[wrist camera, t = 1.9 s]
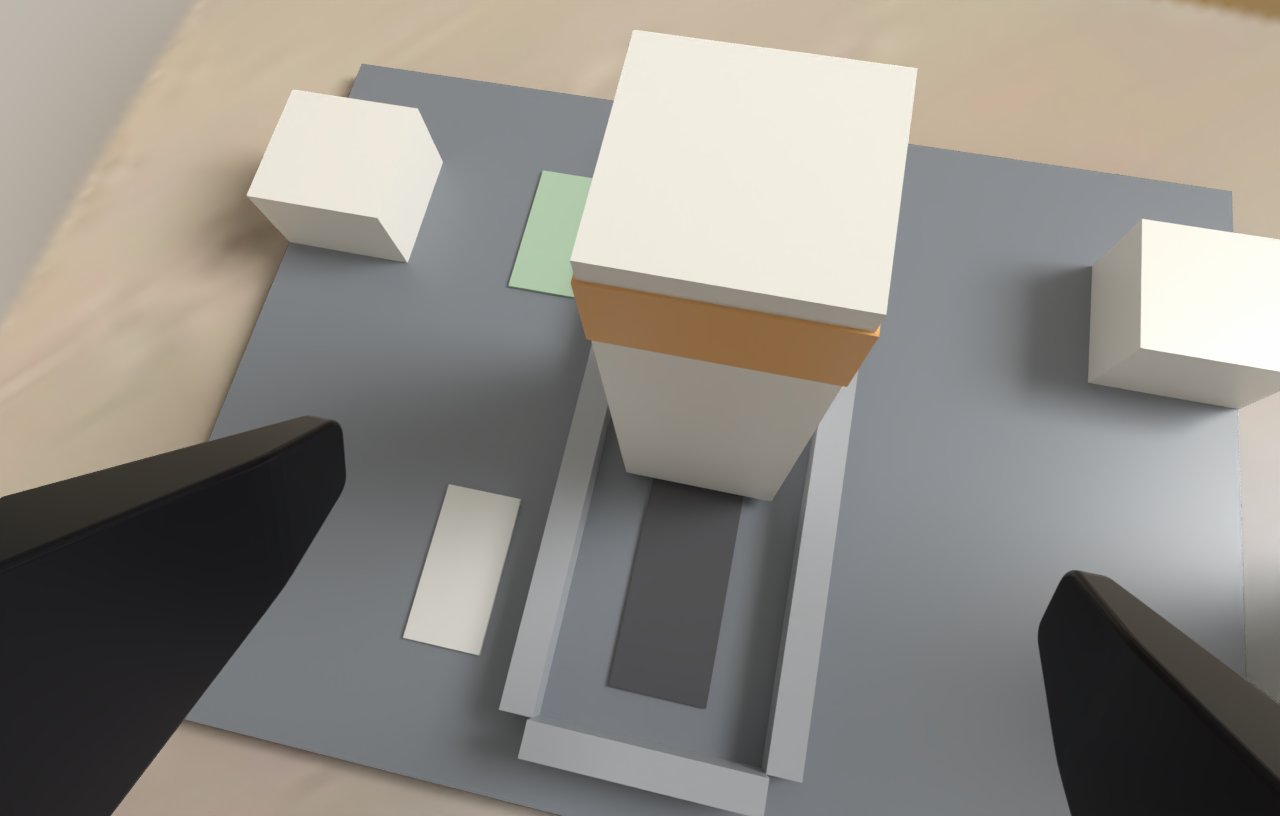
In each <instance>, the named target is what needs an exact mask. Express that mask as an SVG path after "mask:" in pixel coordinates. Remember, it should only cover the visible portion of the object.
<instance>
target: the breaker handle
mask: <svg viewBox="0 0 1280 816" xmlns="http://www.w3.org/2000/svg"><path fill="white" fill-rule="evenodd" d="M917 69H918V68H912V67H904V66H897V65H890V64H882V63H875V62H867V61H860V60H853V59H845V58H838V57H831V56H823V55H816V54H808V53H801V52H794V51H786V50H779V49H772V48H764V47H757V46H750V45H742V44H735V43H727V42H720V41H713V40H705V39H698V38H691V37H683V36H676V35H668V34H661V33H654V32H646V31H639V30H633V33H632V37H631V40H630V44H629V48H628V51H627V55H626V59H625V62H624V66H623V69H622V73H621V77H620V80H619V84H618V88H617V91H616V95H615V99H614V102H613V106H612V109H611V113H610V117H609V120H608V124H607V128H606V131H605V135H604V139H603V142H602V146H601V149H600V153H599V157H598V160H597V164H596V168H595V171H594V175H593V179H592V182H591V186H590V189H589V193H588V197H587V200H586V204H585V208H584V211H583V215H582V219H581V222H580V226H579V229H578V233H577V237H576V240H575V244H574V248H573V251H572V255H571V259H570V263H571V266H572V270H573V275H572V279H571V287H572V290H573V294H574V297H575V301H576V304H577V308H578V312H579V315H580V319H581V322H582V326H583V329H584V333H585V336H586V340H591V341H592V345H593V349H594V353H595V356H596V360H597V364H598V368H599V372H600V375H601V379H602V383H603V387H604V390H605V394H606V398H607V402H608V405H609V409H610V413H611V417H612V420H613V424H614V428H615V432H616V435H617V439H618V443H619V447H620V450H621V454H622V458H623V462H624V465H625V469H626V472H627V473H632V474H637V475H642V476H647V477H652V478H657V479H662V480H667V481H672V482H677V483H682V484H687V485H692V486H697V487H702V488H707V489H712V490H716V491H721V492H726V493H731V494H736V495H741V496H746V497H751V498H756V499H761V500H766V501H771V502H772V500H773V498H774V497H775V495H776V493H777V492H778V490H779V488H780V487H781V485H782V484H783V482H784V480H785V479H786V477H787V475H788V474H789V472H790V471H791V469H792V467H793V466H794V464H795V462H796V461H797V459H798V458H799V456H800V454H801V453H802V451H803V449H804V448H805V446H806V445H807V443H808V441H809V440H810V438H811V436H812V435H813V433H814V432H815V430H816V428H817V427H818V425H819V423H820V422H821V420H822V419H823V417H824V415H825V414H826V412H827V410H828V409H829V407H830V406H831V404H832V402H833V401H834V399H835V397H836V396H837V394H838V393H839V391H840V389H841V388H842V386H843V387H848V385H849V383H850V382H851V380H852V379H853V377H854V376H855V374H856V372H857V371H858V369H859V368H860V366H861V365H862V363H863V361H864V360H865V358H866V357H867V355H868V354H869V352H870V350H871V349H872V347H873V346H874V344H875V343H876V341H877V339H878V338H879V334H880V326H881V323H882V321H883V319H884V318H885V316H886V313H887V305H888V297H889V289H890V282H891V274H892V266H893V258H894V250H895V242H896V234H897V226H898V219H899V211H900V203H901V195H902V187H903V179H904V171H905V163H906V155H907V148H908V140H909V132H910V124H911V116H912V108H913V100H914V92H915V84H916V77H917Z"/></svg>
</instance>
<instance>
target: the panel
mask: <svg viewBox="0 0 1280 816" xmlns="http://www.w3.org/2000/svg"><path fill="white" fill-rule="evenodd" d="M613 102H614V101H612V100H606V99H599V98H592V97H585V96H578V95H571V94H565V93H558V92H551V91H544V90H537V89H531V88H524V87H517V86H510V85H503V84H496V83H490V82H483V81H476V80H469V79H462V78H456V77H449V76H442V75H435V74H428V73H421V72H415V71H408V70H401V69H394V68H387V67H381V66H374V65H367V64H362V65H361V67H360V70H359V72H358V75H357V77H356V79H355V82H354V84H353V87H352V89H351V92H350V94H349V97H348V98H346V97H339V96H332V95H326V94H319V93H313V92H306V91H300V90H292V92H291V94H290V97H289V99H288V101H287V103H286V106H285V108H284V110H283V113H282V115H281V117H280V120H279V122H278V124H277V126H276V129H275V131H274V133H273V136H272V138H271V140H270V142H269V145H268V147H267V149H266V152H265V154H264V156H263V158H262V161H261V163H260V165H259V168H258V170H257V172H256V175H255V177H254V179H253V181H252V184H251V186H250V188H249V191H248V193H247V195H246V196H247V197H248V198H249V199H250V200H251V201H252V202H253V203H254V205H255V206H256V207H257V208H258V209H259V210H260V211H261V212H262V213H263V214H264V215H265V216H266V217H267V219H268V220H269V221H270V222H271V223H272V224H273V225H274V226H275V227H276V228H277V229H278V230H279V231H280V233H281V234H282V235H283V236H284V237H285V238H286V239H287V240H288V241H289V244H288V247H287V249H286V251H285V254H284V256H283V259H282V261H281V264H280V266H279V269H278V271H277V274H276V276H275V278H274V281H273V283H272V286H271V288H270V291H269V293H268V296H267V298H266V301H265V303H264V305H263V308H262V310H261V313H260V315H259V318H258V320H257V323H256V325H255V328H254V330H253V333H252V335H251V337H250V340H249V342H248V345H247V347H246V350H245V352H244V355H243V357H242V360H241V362H240V364H239V367H238V369H237V372H236V374H235V377H234V379H233V382H232V384H231V387H230V389H229V391H228V394H227V396H226V399H225V401H224V404H223V406H222V409H221V411H220V414H219V416H218V418H217V421H216V423H215V426H214V428H213V431H212V433H211V436H210V438H209V441H212V440H215V439H219V438H223V437H226V436H230V435H234V434H238V433H241V432H245V431H249V430H252V429H256V428H260V427H264V426H267V425H271V424H275V423H278V422H282V421H286V420H290V419H293V418H297V417H301V416H305V415H313V416H318V417H323V418H328V419H332V420H336V421H337V422H338V423H339V424H340V425H341V427H342V430H343V438H344V451H345V464H346V482H345V486H344V489H343V491H342V493H341V495H340V497H339V499H338V500H337V502H336V504H335V505H334V507H333V509H332V510H331V512H330V514H329V515H328V517H327V519H326V520H325V522H324V524H323V525H322V527H321V529H320V530H319V532H318V534H317V535H316V537H315V539H314V540H313V542H312V544H311V545H310V547H309V549H308V550H307V552H306V554H305V555H304V557H303V559H302V560H301V562H300V564H299V565H298V567H297V568H296V570H295V572H294V573H293V575H292V576H291V578H290V579H289V581H288V582H287V584H286V586H285V587H284V588H283V590H282V591H281V592H280V594H279V595H278V597H277V598H276V599H275V601H274V602H273V603H272V605H271V606H270V607H269V609H268V610H267V611H266V613H265V614H264V615H263V617H262V618H261V619H260V620H259V622H258V623H257V624H256V626H255V627H254V628H253V630H252V631H251V632H250V634H249V635H248V636H247V638H246V639H245V640H244V641H243V643H242V644H241V645H240V647H239V648H238V649H237V651H236V652H235V653H234V655H233V656H232V657H231V659H230V660H229V661H228V662H227V664H226V665H225V666H224V668H223V669H222V670H221V672H220V673H219V674H218V676H217V677H216V678H215V680H214V681H213V682H212V683H211V685H210V686H209V687H208V689H207V690H206V691H205V693H204V694H203V695H202V697H201V698H200V699H199V701H198V702H197V703H196V705H195V706H194V707H193V708H192V710H191V711H190V712H189V714H188V715H187V716H186V718H185V720H189V721H193V722H197V723H200V724H204V725H208V726H212V727H216V728H220V729H224V730H228V731H232V732H236V733H240V734H244V735H248V736H251V737H255V738H259V739H263V740H267V741H271V742H275V743H279V744H283V745H287V746H291V747H295V748H298V749H302V750H306V751H310V752H314V753H318V754H322V755H326V756H330V757H334V758H338V759H342V760H346V761H349V762H353V763H357V764H361V765H365V766H369V767H373V768H377V769H381V770H385V771H389V772H393V773H396V774H400V775H404V776H408V777H412V778H416V779H420V780H424V781H428V782H432V783H436V784H440V785H443V786H447V787H451V788H455V789H459V790H463V791H467V792H471V793H475V794H479V795H483V796H487V797H491V798H494V799H498V800H502V801H506V802H510V803H514V804H518V805H522V806H526V807H530V808H534V809H538V810H541V811H545V812H549V813H553V814H557V815H561V816H1071V814H1070V810H1069V806H1068V803H1067V799H1066V796H1065V792H1064V788H1063V785H1062V781H1061V777H1060V773H1059V769H1058V765H1057V760H1056V755H1055V749H1054V744H1053V738H1052V732H1051V725H1050V719H1049V712H1048V706H1047V699H1046V693H1045V686H1044V680H1043V673H1042V667H1041V661H1040V654H1039V648H1038V628H1039V624H1040V621H1041V619H1042V617H1043V615H1044V613H1045V610H1046V608H1047V606H1048V604H1049V602H1050V600H1051V598H1052V596H1053V594H1054V592H1055V590H1056V588H1057V586H1058V584H1059V582H1060V580H1061V578H1062V577H1063V576H1064V575H1065V574H1066V573H1067V572H1069V571H1071V570H1079V571H1084V572H1089V573H1094V574H1099V575H1104V576H1107V577H1109V578H1111V579H1112V580H1114V581H1115V582H1116V583H1118V584H1119V585H1120V586H1122V587H1123V588H1124V589H1126V590H1127V591H1128V592H1130V593H1131V594H1133V595H1134V596H1135V597H1137V598H1138V599H1139V600H1141V601H1142V602H1143V603H1145V604H1146V605H1147V606H1149V607H1150V608H1151V609H1153V610H1154V611H1155V612H1157V613H1158V614H1159V615H1161V616H1162V617H1163V618H1165V619H1166V620H1167V621H1169V622H1170V623H1171V624H1173V625H1174V626H1176V627H1177V628H1178V629H1180V630H1181V631H1182V632H1184V633H1185V634H1186V635H1188V636H1189V637H1190V638H1192V639H1193V640H1194V641H1196V642H1197V643H1198V644H1200V645H1201V646H1202V647H1204V648H1205V649H1206V650H1208V651H1209V652H1210V653H1212V654H1213V655H1214V656H1216V657H1217V658H1219V659H1220V660H1221V661H1223V662H1224V663H1225V664H1227V665H1228V666H1229V667H1231V668H1232V669H1233V670H1235V671H1236V672H1237V673H1239V674H1240V675H1241V676H1243V677H1244V678H1245V679H1246V655H1245V621H1244V587H1243V553H1242V519H1241V485H1240V451H1239V417H1238V409H1240V408H1242V407H1244V406H1247V405H1249V404H1251V403H1254V402H1256V401H1258V400H1260V399H1263V398H1265V397H1267V396H1269V395H1272V394H1274V393H1276V392H1278V391H1280V240H1278V239H1272V238H1265V237H1258V236H1252V235H1245V234H1239V233H1233V213H1232V191H1226V190H1219V189H1212V188H1206V187H1199V186H1192V185H1185V184H1178V183H1171V182H1165V181H1158V180H1151V179H1144V178H1137V177H1131V176H1124V175H1117V174H1110V173H1103V172H1096V171H1090V170H1083V169H1076V168H1069V167H1062V166H1056V165H1049V164H1042V163H1035V162H1028V161H1021V160H1015V159H1008V158H1001V157H994V156H987V155H981V154H974V153H967V152H960V151H953V150H946V149H940V148H933V147H926V146H919V145H912V144H908V148H907V155H906V163H905V171H904V179H903V187H902V195H901V203H900V211H899V219H898V226H897V234H896V242H895V250H894V258H893V266H892V274H891V282H890V289H889V297H888V305H887V313H886V316H885V318H884V319H883V321H882V323H881V326H880V334H879V338H878V339H877V341H876V343H875V344H874V346H873V347H872V349H871V350H870V352H869V354H868V355H867V357H866V358H865V360H864V361H863V363H862V365H861V366H860V368H859V369H858V371H857V372H856V374H855V376H854V377H853V379H852V380H851V382H850V383H849V385H848V387H843V386H842V388H841V389H840V391H839V393H838V394H837V396H836V397H835V399H834V401H833V402H832V404H831V406H830V407H829V409H828V410H827V412H826V414H825V415H824V417H823V419H822V420H821V422H820V423H819V425H818V427H817V428H816V430H815V432H814V433H813V435H812V436H811V438H810V440H809V441H808V443H807V445H806V446H805V448H804V449H803V451H802V453H801V454H800V456H799V458H798V459H797V461H796V462H795V464H794V466H793V467H792V469H791V471H790V472H789V474H788V475H787V477H786V479H785V480H784V482H783V484H782V485H781V487H780V488H779V490H778V492H777V493H776V495H775V497H774V498H773V500H772V502H771V501H766V500H761V499H756V498H751V497H746V496H741V495H736V494H731V493H726V492H721V491H716V490H712V489H707V488H702V487H697V486H692V485H687V484H682V483H677V482H672V481H667V480H662V479H657V478H652V477H647V476H642V475H637V474H632V473H627V472H626V469H625V465H624V462H623V458H622V454H621V450H620V447H619V443H618V439H617V435H616V432H615V428H614V424H613V420H612V417H611V413H610V409H609V405H608V402H607V398H606V394H605V390H604V387H603V383H602V379H601V375H600V372H599V368H598V364H597V360H596V356H595V353H594V349H593V345H592V341H591V340H586V336H585V333H584V329H583V326H582V322H581V319H580V315H579V312H578V308H577V304H576V301H575V297H574V294H573V290H572V287H571V279H572V275H573V270H572V266H571V263H570V259H571V255H572V251H573V248H574V244H575V240H576V237H577V233H578V229H579V226H580V222H581V219H582V215H583V211H584V208H585V204H586V200H587V197H588V193H589V189H590V186H591V182H592V179H593V175H594V171H595V168H596V164H597V160H598V157H599V153H600V149H601V146H602V142H603V139H604V135H605V131H606V128H607V124H608V120H609V117H610V113H611V109H612V106H613Z"/></svg>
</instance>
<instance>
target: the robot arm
mask: <svg viewBox="0 0 1280 816" xmlns="http://www.w3.org/2000/svg"><path fill="white" fill-rule="evenodd" d="M345 482H346V464H345V451H344V438H343V430H342V427H341V425H340V424H339V423H338V422H337V421H336V420H332V419H328V418H323V417H318V416H313V415H305V416H301V417H297V418H293V419H290V420H286V421H282V422H278V423H275V424H271V425H267V426H264V427H260V428H256V429H252V430H249V431H245V432H241V433H238V434H234V435H230V436H226V437H223V438H219V439H215V440H212V441H208V442H204V443H200V444H197V445H193V446H189V447H186V448H182V449H178V450H175V451H171V452H167V453H163V454H160V455H156V456H152V457H149V458H145V459H141V460H137V461H134V462H130V463H126V464H123V465H119V466H115V467H111V468H108V469H104V470H100V471H97V472H93V473H89V474H85V475H82V476H78V477H74V478H71V479H67V480H63V481H59V482H56V483H52V484H48V485H45V486H41V487H37V488H34V489H30V490H26V491H22V492H19V493H15V494H11V495H8V496H4V497H2V498H0V816H111V815H112V813H113V812H114V811H115V810H116V808H117V807H118V806H119V804H120V803H121V802H122V800H123V799H124V798H125V796H126V795H127V794H128V792H129V791H130V790H131V789H132V787H133V786H134V785H135V783H136V782H137V781H138V779H139V778H140V777H141V775H142V774H143V773H144V771H145V770H146V769H147V768H148V766H149V765H150V764H151V762H152V761H153V760H154V758H155V757H156V756H157V754H158V753H159V752H160V750H161V749H162V748H163V747H164V745H165V744H166V743H167V741H168V740H169V739H170V737H171V736H172V735H173V733H174V732H175V731H176V729H177V728H178V727H179V726H180V724H181V723H182V722H183V720H184V719H185V718H186V716H187V715H188V714H189V712H190V711H191V710H192V708H193V707H194V706H195V705H196V703H197V702H198V701H199V699H200V698H201V697H202V695H203V694H204V693H205V691H206V690H207V689H208V687H209V686H210V685H211V683H212V682H213V681H214V680H215V678H216V677H217V676H218V674H219V673H220V672H221V670H222V669H223V668H224V666H225V665H226V664H227V662H228V661H229V660H230V659H231V657H232V656H233V655H234V653H235V652H236V651H237V649H238V648H239V647H240V645H241V644H242V643H243V641H244V640H245V639H246V638H247V636H248V635H249V634H250V632H251V631H252V630H253V628H254V627H255V626H256V624H257V623H258V622H259V620H260V619H261V618H262V617H263V615H264V614H265V613H266V611H267V610H268V609H269V607H270V606H271V605H272V603H273V602H274V601H275V599H276V598H277V597H278V595H279V594H280V592H281V591H282V590H283V588H284V587H285V586H286V584H287V582H288V581H289V579H290V578H291V576H292V575H293V573H294V572H295V570H296V568H297V567H298V565H299V564H300V562H301V560H302V559H303V557H304V555H305V554H306V552H307V550H308V549H309V547H310V545H311V544H312V542H313V540H314V539H315V537H316V535H317V534H318V532H319V530H320V529H321V527H322V525H323V524H324V522H325V520H326V519H327V517H328V515H329V514H330V512H331V510H332V509H333V507H334V505H335V504H336V502H337V500H338V499H339V497H340V495H341V493H342V491H343V489H344V486H345ZM1038 648H1039V654H1040V661H1041V667H1042V673H1043V680H1044V686H1045V693H1046V699H1047V706H1048V712H1049V719H1050V725H1051V732H1052V738H1053V744H1054V749H1055V755H1056V760H1057V765H1058V769H1059V773H1060V777H1061V781H1062V785H1063V788H1064V792H1065V796H1066V799H1067V803H1068V806H1069V810H1070V814H1071V816H1280V704H1279V703H1278V702H1276V701H1275V700H1274V699H1272V698H1271V697H1270V696H1268V695H1267V694H1266V693H1264V692H1263V691H1262V690H1260V689H1259V688H1257V687H1256V686H1255V685H1253V684H1252V683H1251V682H1249V681H1248V680H1247V679H1245V678H1244V677H1243V676H1241V675H1240V674H1239V673H1237V672H1236V671H1235V670H1233V669H1232V668H1231V667H1229V666H1228V665H1227V664H1225V663H1224V662H1223V661H1221V660H1220V659H1219V658H1217V657H1216V656H1214V655H1213V654H1212V653H1210V652H1209V651H1208V650H1206V649H1205V648H1204V647H1202V646H1201V645H1200V644H1198V643H1197V642H1196V641H1194V640H1193V639H1192V638H1190V637H1189V636H1188V635H1186V634H1185V633H1184V632H1182V631H1181V630H1180V629H1178V628H1177V627H1176V626H1174V625H1173V624H1171V623H1170V622H1169V621H1167V620H1166V619H1165V618H1163V617H1162V616H1161V615H1159V614H1158V613H1157V612H1155V611H1154V610H1153V609H1151V608H1150V607H1149V606H1147V605H1146V604H1145V603H1143V602H1142V601H1141V600H1139V599H1138V598H1137V597H1135V596H1134V595H1133V594H1131V593H1130V592H1128V591H1127V590H1126V589H1124V588H1123V587H1122V586H1120V585H1119V584H1118V583H1116V582H1115V581H1114V580H1112V579H1111V578H1109V577H1107V576H1104V575H1099V574H1094V573H1089V572H1084V571H1079V570H1071V571H1069V572H1067V573H1066V574H1065V575H1064V576H1063V577H1062V578H1061V580H1060V582H1059V584H1058V586H1057V588H1056V590H1055V592H1054V594H1053V596H1052V598H1051V600H1050V602H1049V604H1048V606H1047V608H1046V610H1045V613H1044V615H1043V617H1042V619H1041V621H1040V624H1039V628H1038Z"/></svg>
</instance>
